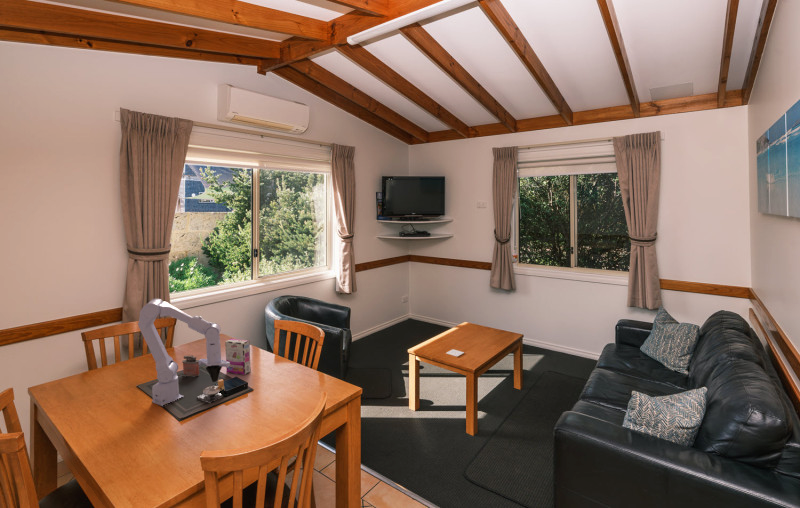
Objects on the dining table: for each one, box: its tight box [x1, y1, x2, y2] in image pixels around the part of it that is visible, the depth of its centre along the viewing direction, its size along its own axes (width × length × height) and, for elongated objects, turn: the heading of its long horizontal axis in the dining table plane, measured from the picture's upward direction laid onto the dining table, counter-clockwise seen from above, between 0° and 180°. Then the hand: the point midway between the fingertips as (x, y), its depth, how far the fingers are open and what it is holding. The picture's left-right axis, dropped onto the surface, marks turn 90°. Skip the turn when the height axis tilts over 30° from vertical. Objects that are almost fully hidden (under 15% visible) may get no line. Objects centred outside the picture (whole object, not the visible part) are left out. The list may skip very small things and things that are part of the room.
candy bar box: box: [224, 338, 252, 376], centre depth 202 cm, size 11×5×16 cm, turn 73°
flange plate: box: [202, 378, 225, 395], centre depth 176 cm, size 8×7×4 cm
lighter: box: [181, 355, 201, 377], centre depth 198 cm, size 8×3×10 cm, turn 84°
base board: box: [196, 385, 225, 402], centre depth 176 cm, size 9×9×4 cm
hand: (215, 380), depth 179 cm, fingers closed
